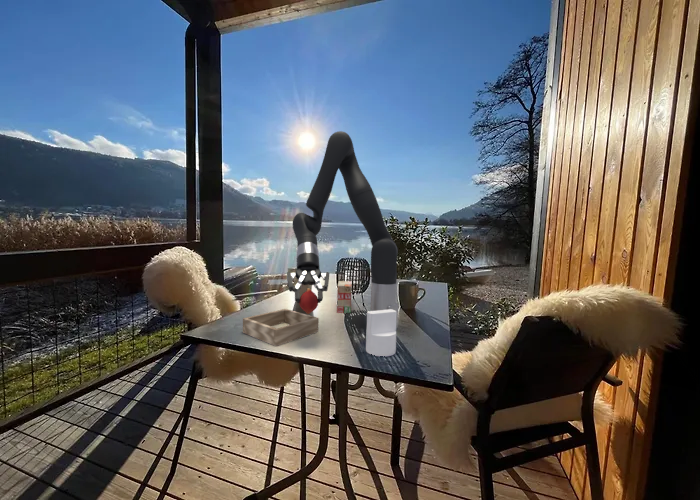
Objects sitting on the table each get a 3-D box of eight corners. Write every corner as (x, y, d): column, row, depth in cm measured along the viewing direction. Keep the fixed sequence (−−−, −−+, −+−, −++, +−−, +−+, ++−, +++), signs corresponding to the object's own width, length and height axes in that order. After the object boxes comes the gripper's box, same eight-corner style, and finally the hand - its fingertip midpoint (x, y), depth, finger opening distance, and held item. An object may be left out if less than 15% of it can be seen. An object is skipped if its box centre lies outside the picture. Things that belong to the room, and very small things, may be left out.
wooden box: (318, 331, 107) (318, 317, 107) (275, 346, 93) (276, 330, 93) (285, 321, 119) (285, 308, 118) (242, 332, 104) (242, 318, 104)
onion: (310, 310, 98) (311, 285, 97) (321, 314, 94) (322, 288, 93) (295, 313, 94) (295, 287, 93) (306, 317, 90) (307, 290, 89)
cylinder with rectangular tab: (374, 358, 86) (375, 316, 85) (360, 347, 94) (361, 309, 93) (401, 354, 89) (402, 314, 89) (386, 343, 98) (387, 306, 97)
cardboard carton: (338, 301, 154) (339, 277, 153) (350, 302, 154) (351, 278, 153) (336, 313, 133) (337, 285, 132) (351, 313, 133) (351, 285, 132)
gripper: (286, 251, 98) (284, 295, 88) (330, 251, 101) (334, 294, 90) (286, 265, 104) (284, 308, 93) (327, 265, 107) (331, 307, 96)
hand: (309, 301), depth 92 cm, fingers closed on onion, 5 cm apart
